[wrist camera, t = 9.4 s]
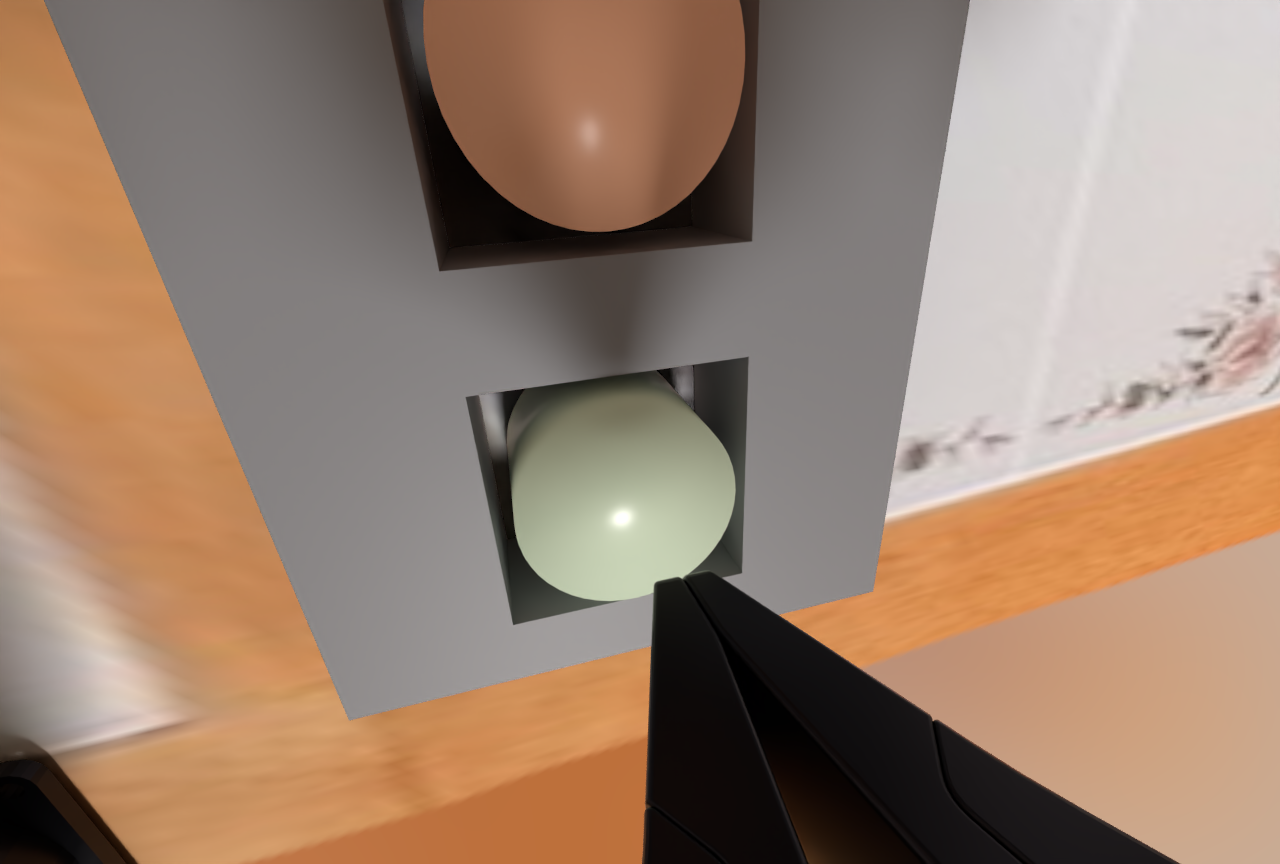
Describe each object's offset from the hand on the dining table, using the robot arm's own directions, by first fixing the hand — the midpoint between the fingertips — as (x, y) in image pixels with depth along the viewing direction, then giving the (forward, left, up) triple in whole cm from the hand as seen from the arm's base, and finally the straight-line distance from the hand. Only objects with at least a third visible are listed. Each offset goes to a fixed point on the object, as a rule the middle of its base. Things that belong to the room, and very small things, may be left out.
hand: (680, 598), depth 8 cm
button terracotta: (+7, 0, -6) cm, 9 cm away
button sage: (0, 0, -6) cm, 6 cm away
